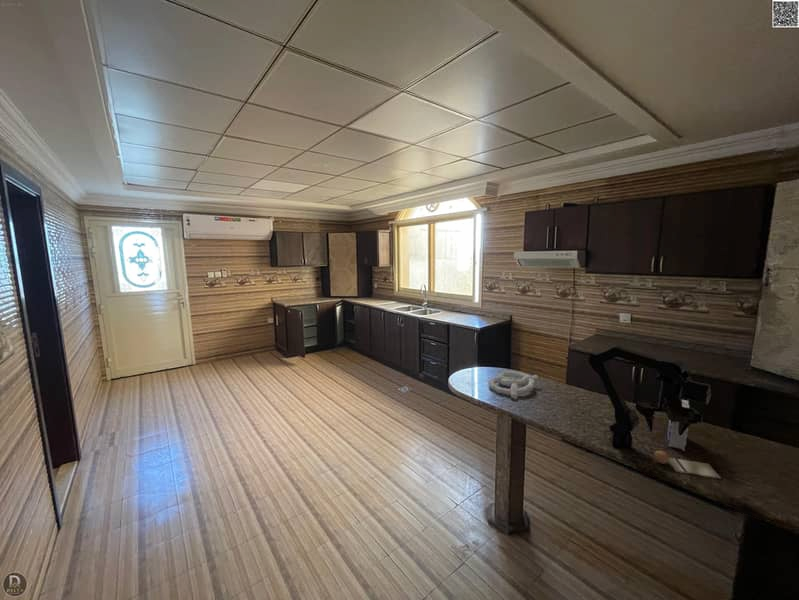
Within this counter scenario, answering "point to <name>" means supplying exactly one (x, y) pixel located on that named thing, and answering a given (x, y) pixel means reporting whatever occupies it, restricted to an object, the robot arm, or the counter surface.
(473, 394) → the counter surface
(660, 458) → the ball
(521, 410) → the counter surface
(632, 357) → the robot arm
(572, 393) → the counter surface
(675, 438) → the candy box
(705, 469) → the board
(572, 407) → the counter surface
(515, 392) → the pretzel
